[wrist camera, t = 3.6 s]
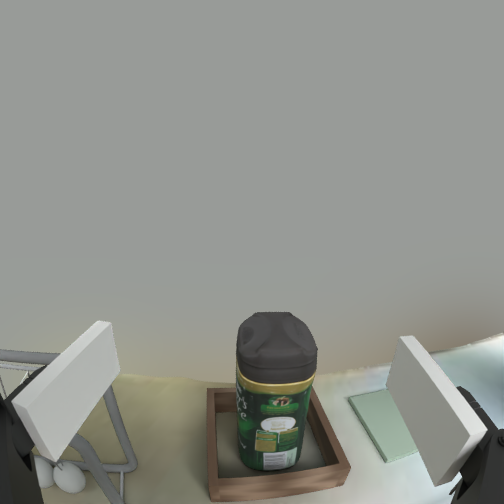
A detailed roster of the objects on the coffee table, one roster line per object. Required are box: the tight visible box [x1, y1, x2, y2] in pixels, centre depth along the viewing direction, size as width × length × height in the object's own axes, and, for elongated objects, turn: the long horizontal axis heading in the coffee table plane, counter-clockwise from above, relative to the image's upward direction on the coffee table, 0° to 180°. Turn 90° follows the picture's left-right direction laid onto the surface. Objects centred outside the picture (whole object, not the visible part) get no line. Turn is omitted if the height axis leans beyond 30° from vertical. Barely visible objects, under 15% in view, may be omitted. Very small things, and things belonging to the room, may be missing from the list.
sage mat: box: [349, 389, 418, 463], centre depth 35 cm, size 14×14×1 cm
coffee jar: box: [236, 312, 318, 471], centre depth 30 cm, size 10×8×19 cm
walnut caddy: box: [207, 387, 351, 502], centre depth 32 cm, size 15×17×4 cm
